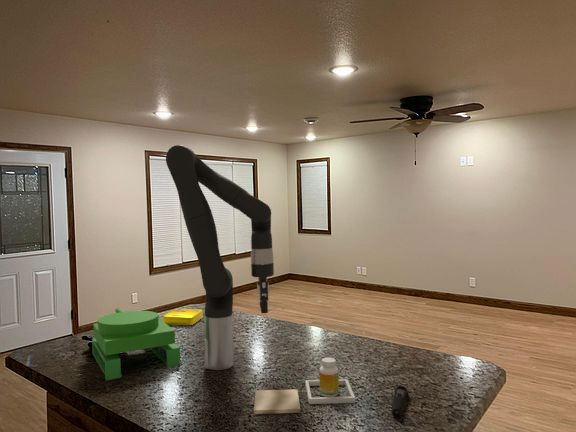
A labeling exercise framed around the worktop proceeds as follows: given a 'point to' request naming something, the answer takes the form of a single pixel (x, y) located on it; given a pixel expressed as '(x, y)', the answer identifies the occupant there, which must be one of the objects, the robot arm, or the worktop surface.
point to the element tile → (183, 317)
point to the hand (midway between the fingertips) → (263, 310)
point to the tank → (132, 339)
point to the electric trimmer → (399, 400)
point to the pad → (276, 401)
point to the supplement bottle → (329, 378)
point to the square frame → (329, 399)
